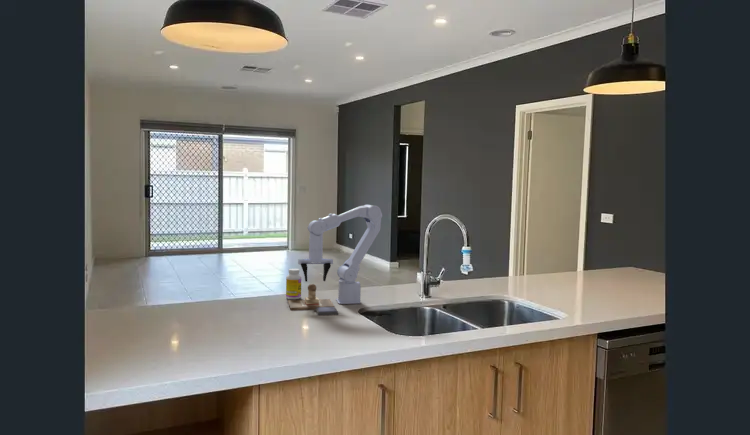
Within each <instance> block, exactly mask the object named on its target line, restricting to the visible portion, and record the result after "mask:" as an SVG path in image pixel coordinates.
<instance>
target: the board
mask: <svg viewBox="0 0 750 435" xmlns="http://www.w3.org/2000/svg"><path fill="white" fill-rule="evenodd" d="M318 299H319V298H318ZM287 304H288V307H289V310H290V311H299V310H300V311H304V310H305V311H306V310H307V311H308V310H311V311H312V310H315V308H317V307H335V308H336V306H335V305H334V303H333V302H332V300H331V298H322V299H319V305H306V304H305V299H288V300H287Z"/></svg>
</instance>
